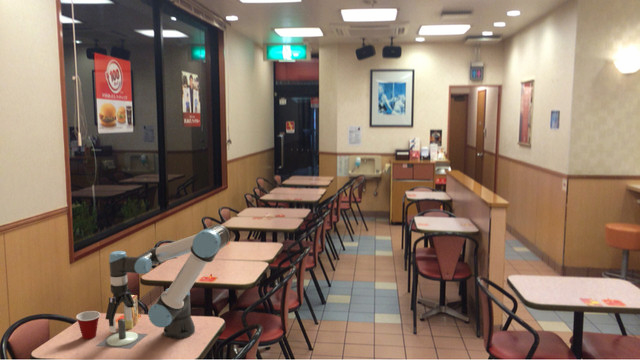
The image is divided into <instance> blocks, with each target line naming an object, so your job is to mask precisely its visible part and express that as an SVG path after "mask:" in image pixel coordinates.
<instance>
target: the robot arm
mask: <svg viewBox="0 0 640 360" xmlns="http://www.w3.org/2000/svg"><path fill="white" fill-rule="evenodd" d="M230 234H231V233H230V231H229V230H228V228H227V227H226V226H225V225H222V224H219V223H217V224H216V223H215V224H212V225H211V226H209V227H206V228H205V229H202V230H201V231H199V232H198V233H197V234H194V235H191V236H187V237H185V238H181V239H179V240H176V241H172V242H169V243H167V244H164V245H161V246H158V247H152V248H150V249H148V250H147V251H145V252H143V253H141V254H139V255H138V256H137V255H136V256H129V255H127V252H126V251H124V250H115V251H112V252H110V253H109V257H108V258H109V261H108V263H109V264H108V265H109V278H110V293H111V294H112V295H113V296H112V297H109V298H108V305H107V309H106V314H105V318H104V319H105V320H108V325H109V328H108V329H109V332H110V333H114V332H117V328H116V326H117V325H116V318H115V317H116V315H117V314H116V313H117V311H118V307H119V306H120V305H121V304H122V303H123V305H124V304H125V305H126V306H127V307H126V308H125V310H126V320H128V321H131V320H132V314H131V312H132V311H131V307H133V306H134V305H132V304H134V301H133V299H132V296H131V295H132V293H131V289H130V288H129V286H128V273H130V274H140V275H143V274H144V275H145V274H148V273H150V272H151V269H152V268H153V267H152V266H154V265H158V264H160V263H163V262H166V261H168V260H169V261H170V260H171V259H175V258H178V257H181V256H184V255H187V254H189V256H188V257H187V259H186V261H185V262H184V263H183V265H182V267H181V268H180V270H179V271H178V273H177V274H176V276H175V278H174V279H173V281H172V283H171V284H170V286H169V288H166V289H165V291H162V293H161V294H160V296H159V297H158V299H157V300H156V302H155V303H154V304H151V306H150V307H149V309H148V312H147V315H148V316H147V317H148V318H149V321H150V322H151V324H152V325H154V326H155V327H158V328H163V336H164V337H166V338H169V339H171V340H176V339H177V340H178V339H184V338H187V337H190V336H192V335H193V334H195V331H196V326H195V323H194V321H193V319H192V316H191V293H190V290H191V289H192V287H193V286H194V284H195V282H196V281H197V279H198V278H199V276H200V275H201V273H202V272H203V270H204V268H205V267H206V266H207V264H208V263H212V262H213V261H214V259H215V258H216V256H217V255H218V254H219V252H220V250H222V249H223V248H224V247H226V246H227V244H229V241H230ZM130 301H131V302H130Z"/></svg>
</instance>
